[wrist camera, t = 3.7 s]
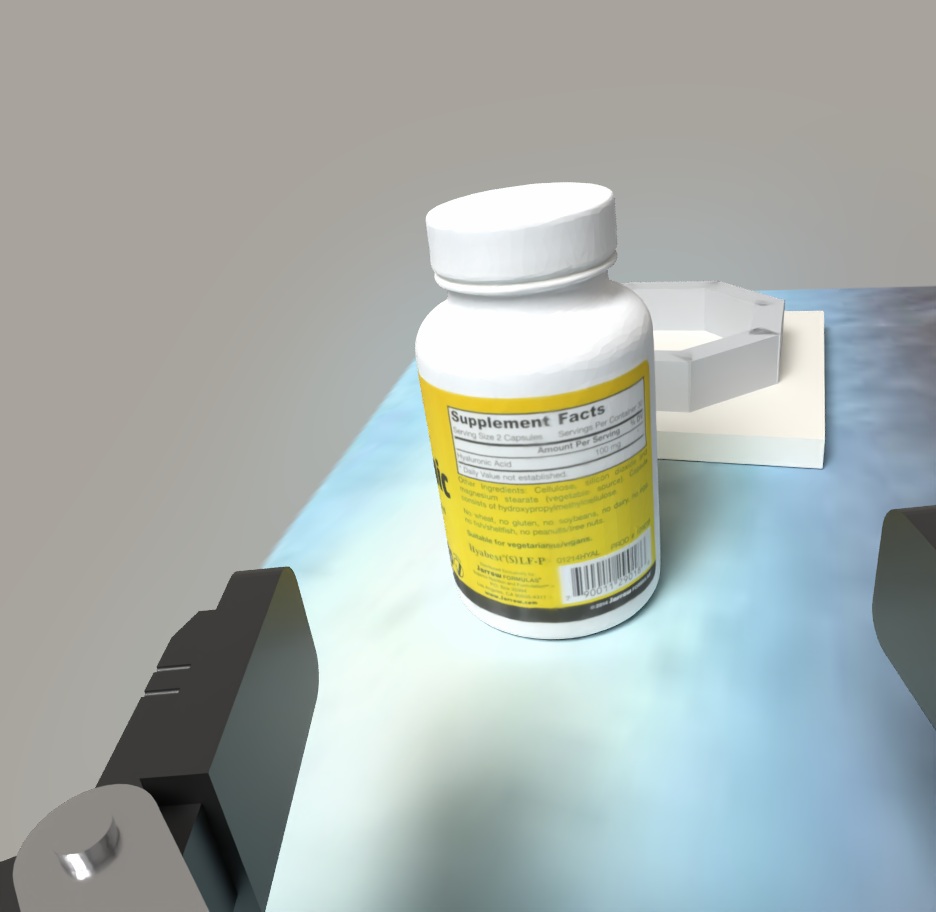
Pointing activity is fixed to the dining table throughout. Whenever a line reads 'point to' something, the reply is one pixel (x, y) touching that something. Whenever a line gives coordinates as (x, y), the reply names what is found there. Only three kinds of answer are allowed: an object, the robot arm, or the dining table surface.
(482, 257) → the supplement bottle
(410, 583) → the dining table surface
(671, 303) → the seat plate
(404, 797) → the dining table surface
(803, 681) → the dining table surface
